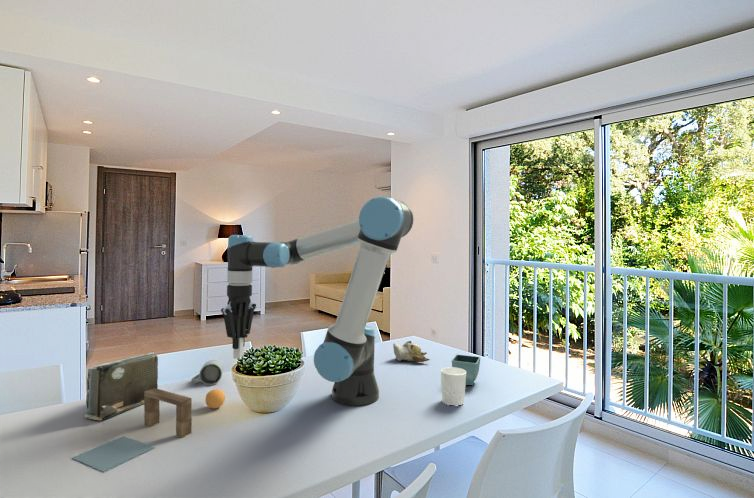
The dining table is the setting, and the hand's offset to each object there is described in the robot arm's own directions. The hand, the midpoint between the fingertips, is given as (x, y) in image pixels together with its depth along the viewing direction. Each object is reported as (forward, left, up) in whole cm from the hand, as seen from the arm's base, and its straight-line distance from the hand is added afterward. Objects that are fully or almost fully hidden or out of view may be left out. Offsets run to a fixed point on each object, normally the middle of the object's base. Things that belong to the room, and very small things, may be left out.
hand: (238, 358), depth 135 cm
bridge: (0, +25, -13) cm, 28 cm away
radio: (+25, +21, -13) cm, 35 cm away
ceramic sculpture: (-33, -65, -13) cm, 73 cm away
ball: (0, +9, -10) cm, 14 cm away
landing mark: (0, +39, -13) cm, 41 cm away
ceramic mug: (+19, -5, -13) cm, 24 cm away
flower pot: (-60, -49, -13) cm, 78 cm away
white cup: (-61, -30, -13) cm, 69 cm away
